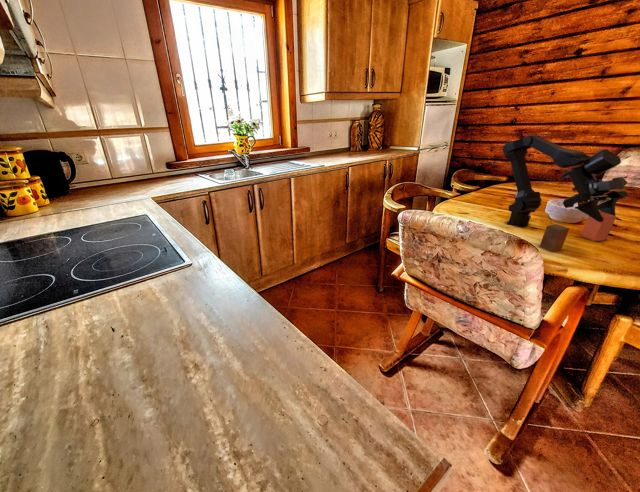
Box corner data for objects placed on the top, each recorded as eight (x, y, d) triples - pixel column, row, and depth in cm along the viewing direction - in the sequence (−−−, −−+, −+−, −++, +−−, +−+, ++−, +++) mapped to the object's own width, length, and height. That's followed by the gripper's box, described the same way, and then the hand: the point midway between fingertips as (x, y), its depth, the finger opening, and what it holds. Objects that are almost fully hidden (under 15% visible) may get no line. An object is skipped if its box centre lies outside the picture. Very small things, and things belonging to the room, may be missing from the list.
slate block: (583, 237, 113) (592, 216, 109) (591, 235, 114) (600, 215, 110) (597, 241, 109) (607, 220, 105) (605, 240, 110) (615, 219, 106)
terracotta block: (580, 235, 101) (590, 212, 97) (591, 234, 102) (601, 211, 98) (593, 241, 97) (604, 217, 93) (605, 239, 98) (616, 216, 94)
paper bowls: (551, 224, 126) (557, 207, 123) (537, 213, 139) (542, 197, 136) (594, 227, 121) (602, 210, 118) (575, 215, 134) (582, 199, 131)
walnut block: (539, 246, 108) (546, 225, 104) (548, 245, 108) (556, 224, 105) (551, 252, 104) (560, 230, 100) (561, 250, 104) (569, 228, 101)
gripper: (584, 171, 92) (609, 213, 86) (633, 166, 93) (661, 208, 88) (553, 188, 102) (573, 226, 97) (598, 184, 104) (620, 222, 98)
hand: (607, 220), depth 95 cm, fingers closed on terracotta block, 4 cm apart
